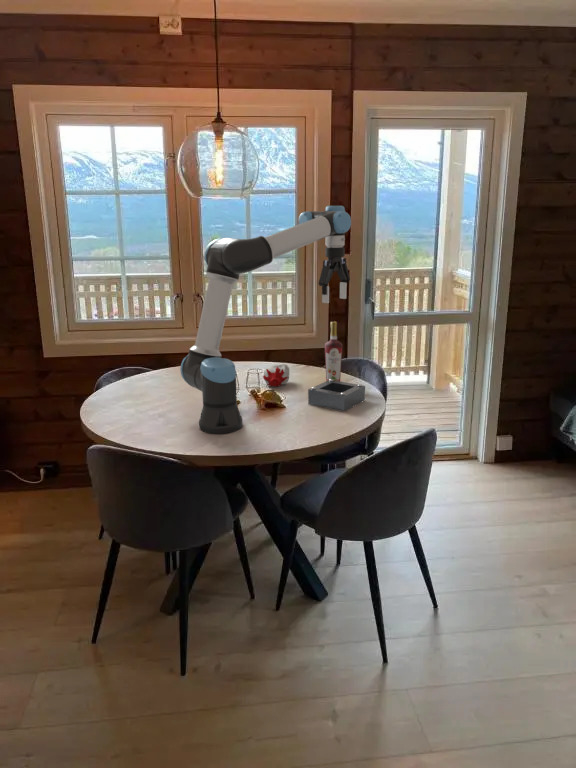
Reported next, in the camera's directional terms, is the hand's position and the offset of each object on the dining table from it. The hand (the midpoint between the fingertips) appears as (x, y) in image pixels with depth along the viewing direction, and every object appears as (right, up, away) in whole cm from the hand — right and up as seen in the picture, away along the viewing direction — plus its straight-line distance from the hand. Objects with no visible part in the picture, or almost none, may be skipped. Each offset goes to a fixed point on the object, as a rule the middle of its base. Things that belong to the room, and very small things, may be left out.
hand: (334, 300), depth 236 cm
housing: (0, -41, -8) cm, 41 cm away
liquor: (0, -35, +10) cm, 37 cm away
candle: (-24, -35, +14) cm, 44 cm away
